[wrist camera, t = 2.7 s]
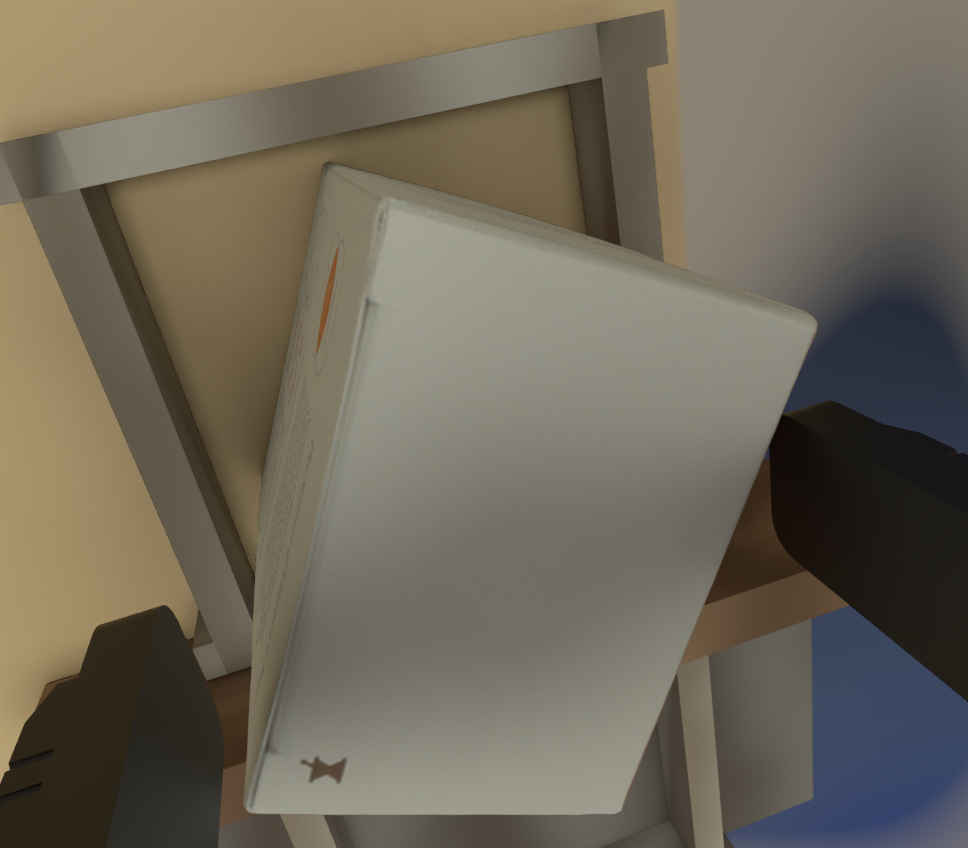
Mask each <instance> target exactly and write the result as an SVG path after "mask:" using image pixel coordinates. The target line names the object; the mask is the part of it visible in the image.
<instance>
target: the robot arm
mask: <svg viewBox="0 0 968 848" xmlns="http://www.w3.org/2000/svg"><path fill="white" fill-rule="evenodd" d="M769 453H770V484H771V513H772V521H773V525H774V529H775V531H776V534H777V536H778V539H779V541H780V542H781V544H782V546H783V547H784V549H785V550H786V552H787V553H788V554H789V555H790V556H791V557H792V558H793V559H794V560H795V561H796V562H797V563H799V564H800V565H801V566H802V567H804V568H805V569H806V570H807V571H808V572H810V573H811V574H812V575H813V576H815V577H816V578H817V579H818V580H819V581H821V582H822V583H823V584H824V585H826V586H827V587H828V588H829V589H830V590H832V591H833V592H834V593H835V594H837V595H838V596H839V597H840V598H841V599H843V600H844V601H845V602H846V603H848V604H849V605H850V606H852V607H853V608H854V609H855V610H856V611H857V612H859V613H860V614H861V615H862V616H863V617H865V618H866V619H867V620H869V621H870V622H871V623H872V624H873V625H875V626H876V627H877V628H878V629H879V630H881V631H882V632H883V633H884V634H885V635H887V636H888V637H889V638H890V639H892V640H893V641H894V642H895V643H896V644H898V645H899V646H900V647H901V648H903V649H904V650H905V651H906V652H907V653H909V654H910V655H911V656H912V657H914V658H915V659H916V660H917V661H918V662H920V663H921V664H922V665H923V666H925V667H926V668H927V669H928V670H929V671H931V672H932V673H933V674H934V675H936V676H937V677H938V678H939V679H940V680H942V681H943V682H944V683H945V684H947V685H948V686H949V687H950V688H952V689H953V690H954V691H955V692H956V693H958V694H959V695H960V696H962V698H964V699H965V700H966V701H967V702H968V455H967V454H965V453H960V454H957V452H956V449H954V448H952V447H950V446H948V445H945V444H943V443H941V442H939V441H937V440H935V439H932V438H930V437H928V436H926V435H924V434H922V433H919V432H914V431H910V430H906V429H902V428H897V427H893V426H889V425H883V424H881V423H879V422H877V421H875V420H873V419H871V418H869V417H867V416H864V415H862V414H860V413H858V412H856V411H854V410H852V409H850V408H848V407H846V406H844V405H842V404H840V403H837V402H835V401H824V402H821V403H818V404H814V405H811V406H808V407H805V408H802V409H798V410H795V411H792V412H789V413H785V414H782V415H781V418H780V420H779V423H778V425H777V428H776V430H775V433H774V435H773V438H772V440H771V443H770V445H769ZM223 765H224V741H223V733H222V727H221V723H220V718H219V715H218V711H217V708H216V705H215V702H214V700H213V698H212V695H211V693H210V691H209V689H208V687H207V684H206V682H205V680H204V678H203V676H202V673H201V671H200V669H199V667H198V665H197V662H196V660H195V658H194V656H193V654H192V651H191V649H190V647H189V645H188V642H187V640H186V638H185V636H184V634H183V631H182V629H181V627H180V625H179V623H178V621H177V619H176V617H175V615H174V613H173V612H172V611H171V609H170V608H169V607H167V606H165V605H162V606H159V607H156V608H153V609H149V610H146V611H143V612H140V613H137V614H133V615H130V616H127V617H124V618H121V619H117V620H114V621H111V622H108V623H104V624H101V625H99V626H97V627H96V629H95V630H94V632H93V635H92V638H91V641H90V644H89V647H88V650H87V653H86V656H85V659H84V661H83V664H82V667H81V670H80V673H79V676H78V677H77V678H74V679H71V680H67V681H64V682H61V683H58V684H57V685H56V686H55V687H54V689H53V690H52V691H51V692H50V693H49V695H48V696H47V697H46V698H45V700H44V701H43V702H42V703H41V704H40V706H39V707H38V708H37V709H36V710H35V712H34V713H33V714H32V715H31V716H30V718H29V719H28V720H27V721H26V722H25V724H24V726H23V729H22V731H21V734H20V736H19V739H18V741H17V744H16V746H15V749H14V751H13V754H12V756H11V759H10V761H9V766H10V770H9V771H6V772H5V774H4V776H3V779H2V781H1V784H0V848H218V842H219V827H220V811H221V796H222V780H223Z"/></svg>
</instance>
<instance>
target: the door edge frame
mask: <svg viewBox="0 0 968 848" xmlns="http://www.w3.org/2000/svg"><path fill="white" fill-rule="evenodd" d="M667 63H668V55H667V42H666V30H665V17H664V10H660V11H655V12H650V13H645V14H640V15H635V16H630V17H625V18H620V19H615V20H610V21H605V22H600V23H595V24H590V25H585V26H580V27H575V28H570V29H565V30H560V31H555V32H550V33H545V34H540V35H535V36H530V37H525V38H520V39H515V40H510V41H505V42H500V43H495V44H490V45H485V46H480V47H475V48H470V49H465V50H460V51H455V52H450V53H445V54H440V55H435V56H430V57H425V58H420V59H416V60H411V61H406V62H401V63H396V64H391V65H386V66H381V67H376V68H371V69H366V70H361V71H356V72H351V73H346V74H341V75H336V76H331V77H326V78H321V79H316V80H311V81H306V82H301V83H296V84H291V85H286V86H281V87H276V88H271V89H266V90H261V91H256V92H251V93H246V94H241V95H236V96H231V97H226V98H221V99H216V100H211V101H206V102H201V103H196V104H191V105H186V106H181V107H176V108H171V109H166V110H161V111H156V112H151V113H146V114H141V115H136V116H131V117H126V118H121V119H116V120H112V121H107V122H102V123H97V124H92V125H87V126H82V127H77V128H72V129H67V130H62V131H57V132H52V133H47V134H42V135H37V136H32V137H27V138H22V139H17V140H12V141H7V142H2V143H0V206H1V205H5V204H10V203H15V202H19V201H23V203H24V205H25V208H26V210H27V212H28V215H29V217H30V219H31V222H32V224H33V226H34V229H35V231H36V233H37V236H38V238H39V240H40V242H41V245H42V247H43V249H44V252H45V254H46V256H47V259H48V261H49V263H50V266H51V268H52V270H53V273H54V275H55V277H56V279H57V282H58V284H59V286H60V289H61V291H62V293H63V296H64V298H65V300H66V303H67V305H68V307H69V310H70V312H71V314H72V316H73V319H74V321H75V323H76V326H77V328H78V330H79V333H80V335H81V337H82V340H83V342H84V344H85V347H86V349H87V351H88V353H89V356H90V358H91V360H92V363H93V365H94V367H95V370H96V372H97V374H98V377H99V379H100V381H101V384H102V386H103V388H104V390H105V393H106V395H107V397H108V400H109V402H110V404H111V407H112V409H113V411H114V414H115V416H116V418H117V421H118V423H119V425H120V427H121V430H122V432H123V434H124V437H125V439H126V441H127V444H128V446H129V448H130V451H131V453H132V455H133V458H134V460H135V462H136V464H137V467H138V469H139V471H140V474H141V476H142V478H143V481H144V483H145V485H146V488H147V490H148V492H149V495H150V497H151V499H152V501H153V504H154V506H155V508H156V511H157V513H158V515H159V518H160V520H161V522H162V525H163V527H164V529H165V532H166V534H167V536H168V538H169V541H170V543H171V545H172V548H173V550H174V552H175V555H176V557H177V559H178V562H179V564H180V566H181V569H182V571H183V573H184V575H185V578H186V580H187V582H188V585H189V587H190V589H191V592H192V594H193V596H194V599H195V601H196V603H197V605H198V608H199V610H198V617H197V623H196V629H195V636H194V638H193V639H190V640H187V642H188V645H189V647H190V649H191V651H192V654H193V656H194V658H195V660H196V662H197V665H198V667H199V669H200V671H201V673H202V676H203V678H204V680H205V682H206V684H207V687H208V689H209V691H210V693H211V695H212V698H213V700H214V702H215V705H216V708H217V711H218V715H219V718H220V723H221V727H222V733H223V741H224V765H223V780H222V796H221V811H220V827H219V842H218V848H734V847H733V845H732V844H731V842H730V841H729V839H728V837H727V836H726V834H725V833H728V832H730V831H733V830H735V829H738V828H740V827H743V826H745V825H748V824H750V823H753V822H755V821H758V820H761V819H763V818H765V817H768V816H771V815H773V814H776V813H778V812H781V811H783V810H786V809H788V808H791V807H793V806H796V805H798V804H801V803H803V802H806V801H808V800H811V799H813V729H812V728H813V727H812V726H813V720H812V618H815V617H818V616H820V615H823V614H826V613H829V612H832V611H834V610H838V609H840V608H843V607H846V606H849V604H848V603H846V602H845V601H844V600H843V599H841V598H840V597H839V596H838V595H837V594H835V593H834V592H833V591H832V590H830V589H829V588H828V587H827V586H826V585H824V584H823V583H822V582H821V581H819V580H818V579H817V578H816V577H815V576H813V575H812V574H811V573H810V572H808V571H807V570H806V569H805V568H804V567H802V566H801V565H800V564H799V563H797V562H796V561H795V560H794V559H793V558H792V557H791V556H790V555H789V554H788V553H787V552H786V550H785V549H784V547H783V546H782V544H781V542H780V541H779V539H778V536H777V534H776V531H775V529H774V525H773V521H772V513H771V484H770V459H768V460H765V461H763V462H762V465H761V467H760V470H759V472H758V474H757V477H756V479H755V482H754V484H753V486H752V489H751V491H750V494H749V496H748V499H747V501H746V504H745V506H744V509H743V511H742V514H741V516H740V518H739V521H738V523H737V526H736V528H735V531H734V533H733V536H732V538H731V540H730V543H729V545H728V547H727V550H726V552H725V555H724V557H723V560H722V563H721V565H720V568H719V570H718V573H717V575H716V578H715V580H714V583H713V585H712V587H711V590H710V592H709V594H708V597H707V599H706V601H705V604H704V606H703V609H702V611H701V614H700V616H699V619H698V621H697V624H696V627H695V629H694V632H693V634H692V637H691V639H690V641H689V644H688V646H687V649H686V651H685V654H684V656H683V659H682V661H681V664H680V666H679V668H678V671H677V673H676V676H675V678H674V681H673V683H672V686H671V688H670V691H669V693H668V696H667V698H666V700H665V703H664V706H663V708H662V711H661V714H660V716H659V719H658V721H657V723H656V726H655V728H654V730H653V733H652V735H651V738H650V740H649V743H648V745H647V748H646V750H645V753H644V755H643V758H642V760H641V763H640V765H639V768H638V770H637V773H636V775H635V778H634V780H633V783H632V785H631V788H630V790H629V793H628V795H627V798H626V801H625V803H624V806H623V809H622V811H620V812H618V813H616V814H583V815H324V814H257V813H249V812H248V811H247V810H246V809H245V807H244V805H243V804H244V790H245V776H246V762H247V744H248V721H249V702H250V686H251V671H252V667H251V662H252V637H253V612H254V589H255V577H254V574H253V572H252V569H251V567H250V564H249V561H248V559H247V556H246V554H245V551H244V548H243V546H242V543H241V541H240V538H239V535H238V533H237V530H236V528H235V525H234V523H233V520H232V517H231V515H230V512H229V510H228V507H227V504H226V502H225V499H224V497H223V494H222V491H221V489H220V486H219V484H218V481H217V478H216V476H215V473H214V471H213V468H212V465H211V463H210V460H209V458H208V455H207V452H206V450H205V447H204V445H203V442H202V439H201V437H200V434H199V432H198V429H197V427H196V424H195V421H194V419H193V416H192V414H191V411H190V408H189V406H188V403H187V401H186V398H185V395H184V393H183V390H182V388H181V385H180V382H179V380H178V377H177V375H176V372H175V369H174V367H173V364H172V362H171V359H170V356H169V354H168V351H167V349H166V346H165V344H164V341H163V338H162V336H161V333H160V331H159V328H158V325H157V323H156V320H155V318H154V315H153V312H152V310H151V307H150V305H149V302H148V299H147V297H146V294H145V292H144V289H143V286H142V284H141V281H140V279H139V276H138V273H137V271H136V268H135V266H134V263H133V261H132V258H131V255H130V253H129V250H128V248H127V245H126V242H125V240H124V237H123V235H122V232H121V229H120V227H119V224H118V222H117V219H116V216H115V214H114V211H113V209H112V206H111V203H110V201H109V198H108V196H107V193H106V190H105V188H104V185H103V184H104V183H109V182H113V181H118V180H123V179H127V178H132V177H137V176H141V175H146V174H151V173H155V172H160V171H165V170H170V169H174V168H179V167H184V166H188V165H193V164H198V163H202V162H207V161H212V160H216V159H221V158H226V157H231V156H235V155H240V154H245V153H249V152H254V151H259V150H263V149H268V148H273V147H277V146H282V145H287V144H291V143H296V142H301V141H306V140H310V139H315V138H320V137H324V136H329V135H334V134H338V133H343V132H348V131H352V130H357V129H362V128H367V127H371V126H376V125H381V124H385V123H390V122H395V121H399V120H404V119H409V118H413V117H418V116H423V115H428V114H432V113H437V112H442V111H446V110H451V109H456V108H460V107H465V106H470V105H474V104H479V103H484V102H488V101H493V100H498V99H503V98H507V97H512V96H517V95H521V94H526V93H531V92H535V91H540V90H545V89H549V88H554V87H559V86H564V85H568V89H569V96H570V104H571V112H572V120H573V127H574V135H575V143H576V150H577V158H578V166H579V173H580V181H581V189H582V197H583V204H584V212H585V220H586V227H587V235H588V236H591V237H594V238H597V239H600V240H603V241H606V242H609V243H612V244H615V245H618V246H621V247H624V248H627V249H631V250H634V251H636V252H639V253H641V254H643V255H646V256H648V257H650V258H653V259H655V260H658V261H661V262H664V261H663V250H662V239H661V227H660V216H659V205H658V194H657V183H656V172H655V160H654V149H653V138H652V127H651V116H650V104H649V93H648V82H647V71H646V68H648V67H653V66H657V65H662V64H667ZM78 676H79V674H78V675H75V676H72V677H68V678H65V679H62V680H59V681H56V682H52V683H49V684H46V686H45V688H44V691H43V693H42V696H41V698H40V701H39V703H38V705H37V708H38V707H39V706H40V704H41V703H42V702H43V701H44V700H45V698H46V697H47V696H48V695H49V693H50V692H51V691H52V690H53V689H54V687H55V686H56V685H57V684H58V683H61V682H64V681H67V680H71V679H74V678H77V677H78ZM37 708H36V709H37Z"/></svg>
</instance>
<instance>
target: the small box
mask: <svg viewBox="0 0 968 848" xmlns="http://www.w3.org/2000/svg"><path fill="white" fill-rule="evenodd" d="M817 328H818V324H817V321H816V320H815V319H814V318H813V317H812V316H811V315H810V314H809V313H807V312H805V311H803V310H800V309H797V308H794V307H792V306H789V305H786V304H783V303H780V302H777V301H774V300H772V299H769V298H766V297H763V296H760V295H757V294H755V293H751V292H749V291H746V290H743V289H740V288H737V287H734V286H731V285H728V284H726V283H723V282H720V281H717V280H714V279H711V278H708V277H705V276H702V275H699V274H696V273H693V272H691V271H688V270H685V269H682V268H679V267H676V266H673V265H670V264H667V263H664V262H661V261H658V260H655V259H653V258H650V257H648V256H646V255H643V254H641V253H639V252H636V251H634V250H631V249H627V248H624V247H621V246H618V245H615V244H612V243H609V242H606V241H603V240H600V239H597V238H594V237H591V236H587V235H584V234H581V233H578V232H575V231H571V230H568V229H565V228H562V227H559V226H556V225H553V224H550V223H547V222H543V221H540V220H537V219H534V218H531V217H528V216H524V215H521V214H518V213H515V212H511V211H508V210H505V209H502V208H498V207H495V206H492V205H488V204H485V203H481V202H477V201H474V200H470V199H467V198H463V197H460V196H456V195H452V194H449V193H445V192H442V191H438V190H434V189H431V188H427V187H424V186H420V185H416V184H412V183H408V182H405V181H401V180H397V179H393V178H389V177H386V176H382V175H378V174H374V173H370V172H367V171H363V170H359V169H355V168H351V167H347V166H343V165H339V164H335V163H331V162H327V163H325V164H324V165H323V168H322V174H321V180H320V186H319V192H318V197H317V202H316V207H315V212H314V217H313V221H312V227H311V232H310V237H309V243H308V248H307V253H306V258H305V263H304V268H303V273H302V279H301V284H300V289H299V294H298V299H297V304H296V309H295V314H294V320H293V325H292V330H291V335H290V340H289V345H288V350H287V355H286V360H285V365H284V371H283V376H282V381H281V386H280V391H279V396H278V401H277V406H276V411H275V417H274V422H273V427H272V432H271V437H270V442H269V447H268V452H267V457H266V461H265V466H264V470H263V475H262V481H261V494H260V507H259V521H258V539H257V556H256V572H255V589H254V612H253V637H252V662H251V667H252V671H251V686H250V702H249V721H248V744H247V762H246V776H245V790H244V804H243V805H244V807H245V809H246V810H247V811H248V812H249V813H257V814H324V815H583V814H616V813H618V812H620V811H622V809H623V806H624V803H625V801H626V798H627V795H628V793H629V790H630V788H631V785H632V783H633V780H634V778H635V775H636V773H637V770H638V768H639V765H640V763H641V760H642V758H643V755H644V753H645V750H646V748H647V745H648V743H649V740H650V738H651V735H652V733H653V730H654V728H655V726H656V723H657V721H658V719H659V716H660V714H661V711H662V708H663V706H664V703H665V700H666V698H667V696H668V693H669V691H670V688H671V686H672V683H673V681H674V678H675V676H676V673H677V671H678V668H679V666H680V664H681V661H682V659H683V656H684V654H685V651H686V649H687V646H688V644H689V641H690V639H691V637H692V634H693V632H694V629H695V627H696V624H697V621H698V619H699V616H700V614H701V611H702V609H703V606H704V604H705V601H706V599H707V597H708V594H709V592H710V590H711V587H712V585H713V583H714V580H715V578H716V575H717V573H718V570H719V568H720V565H721V563H722V560H723V557H724V555H725V552H726V550H727V547H728V545H729V543H730V540H731V538H732V536H733V533H734V531H735V528H736V526H737V523H738V521H739V518H740V516H741V514H742V511H743V509H744V506H745V504H746V501H747V499H748V496H749V494H750V491H751V489H752V486H753V484H754V482H755V479H756V477H757V474H758V472H759V470H760V467H761V465H762V462H763V460H764V457H765V455H766V453H767V450H768V448H769V445H770V443H771V440H772V438H773V435H774V433H775V430H776V428H777V425H778V423H779V420H780V418H781V415H782V413H783V410H784V408H785V405H786V403H787V400H788V398H789V395H790V393H791V391H792V388H793V386H794V384H795V381H796V379H797V377H798V374H799V371H800V369H801V367H802V365H803V362H804V360H805V357H806V355H807V352H808V350H809V347H810V345H811V343H812V341H813V339H814V337H815V335H816V331H817Z"/></svg>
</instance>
